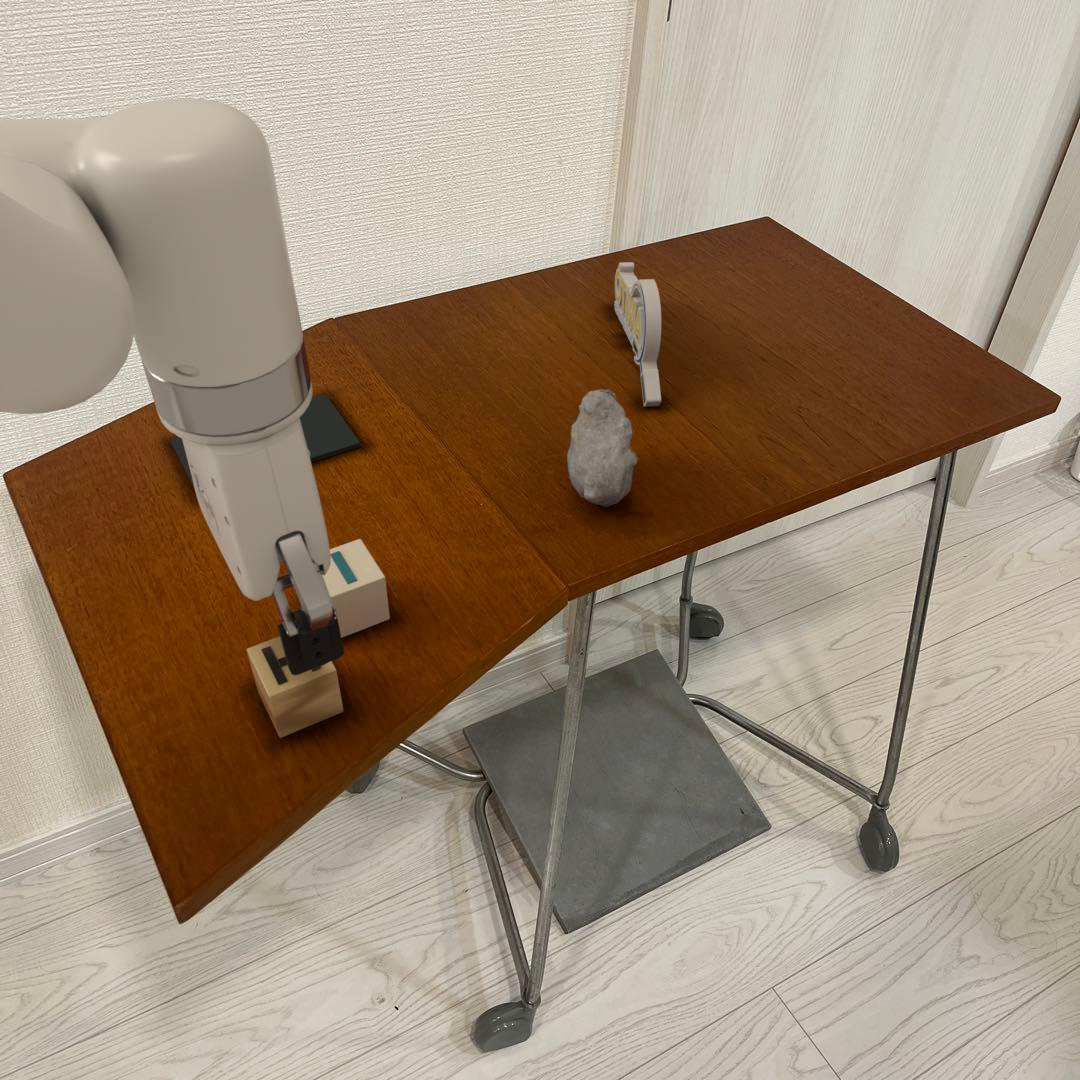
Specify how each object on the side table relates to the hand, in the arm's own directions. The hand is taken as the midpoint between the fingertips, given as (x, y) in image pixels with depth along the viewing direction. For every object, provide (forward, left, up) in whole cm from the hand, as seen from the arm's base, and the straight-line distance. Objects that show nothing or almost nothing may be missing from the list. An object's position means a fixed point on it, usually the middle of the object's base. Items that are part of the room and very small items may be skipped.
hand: (287, 607), depth 61 cm
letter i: (+6, +6, -9) cm, 12 cm away
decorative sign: (+43, +24, -9) cm, 50 cm away
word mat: (+7, +27, -9) cm, 29 cm away
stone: (+29, +8, -9) cm, 31 cm away
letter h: (0, 0, -9) cm, 9 cm away
